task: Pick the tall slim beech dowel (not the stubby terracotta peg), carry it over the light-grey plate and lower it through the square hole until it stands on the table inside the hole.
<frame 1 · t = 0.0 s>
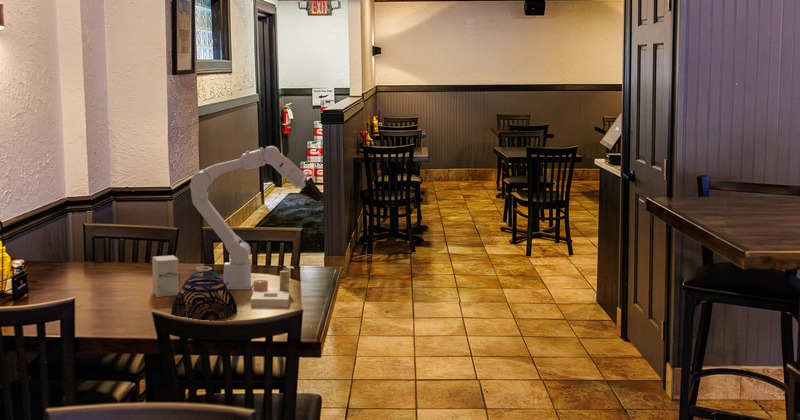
hand: (320, 198, 302), 32 cm above the table, tool tilted 50°, fingers open, 7 cm apart
hole plate: (270, 302, 287), on the table
terracotta peg: (260, 295, 295), on the table
beech pin: (284, 294, 297), on the table
supplement box: (165, 294, 294), on the table
decorative bowl: (204, 313, 274), on the table
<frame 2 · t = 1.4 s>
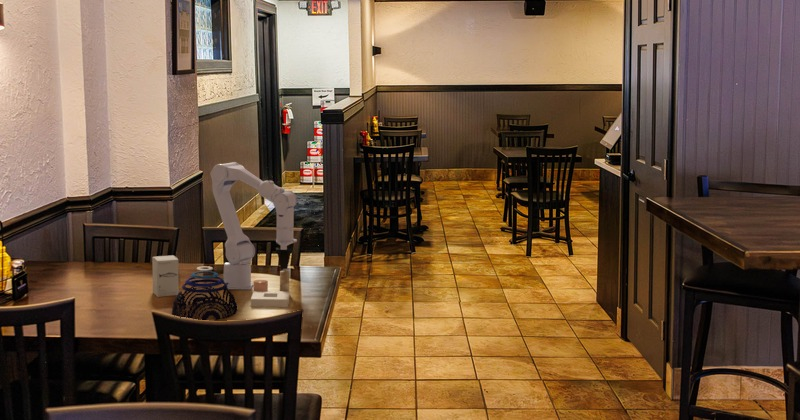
hand: (284, 266, 296), 10 cm above the table, tool pointing down, fingers open, 7 cm apart
nothing on the table moved.
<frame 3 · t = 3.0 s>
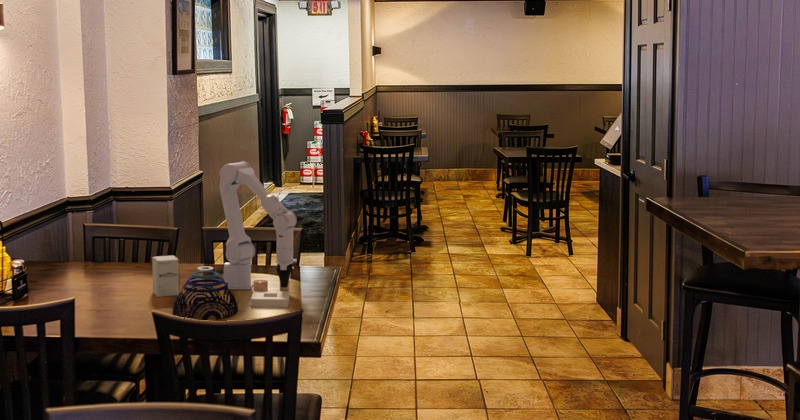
hand: (284, 285, 297), 3 cm above the table, tool pointing down, fingers closed on beech pin, 3 cm apart
beech pin: (284, 294, 297), on the table, touching gripper
everything else where it was.
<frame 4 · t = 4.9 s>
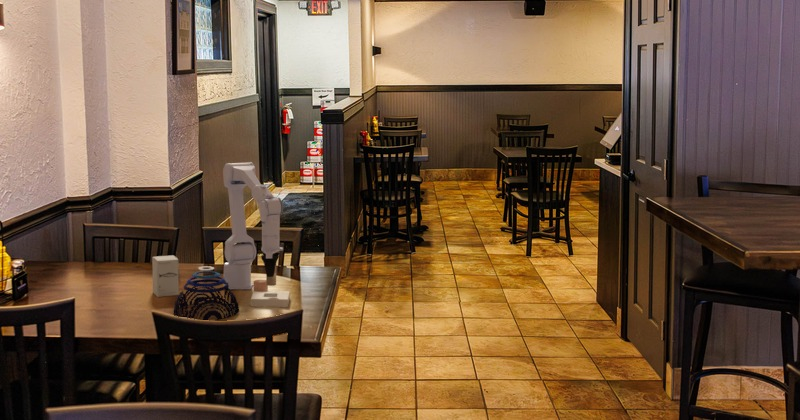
hand: (270, 275, 285), 9 cm above the table, tool pointing down, fingers closed on beech pin, 3 cm apart
beech pin: (271, 284, 286), point 6 cm above the table, touching gripper
everything else where it was.
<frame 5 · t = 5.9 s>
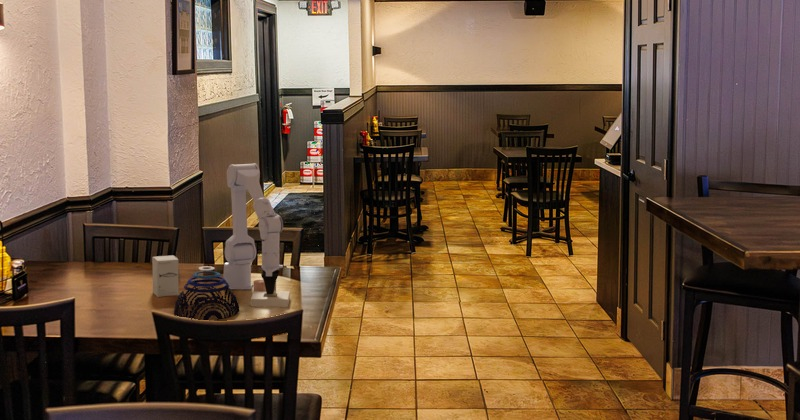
hand: (270, 292, 286), 3 cm above the table, tool pointing down, fingers closed on beech pin, 3 cm apart
beech pin: (271, 301, 287), resting in hole plate, touching gripper
everything else where it was.
when the fingers open (3 cm above the table, at t = 6.6 s): beech pin stays where it is, resting in hole plate.
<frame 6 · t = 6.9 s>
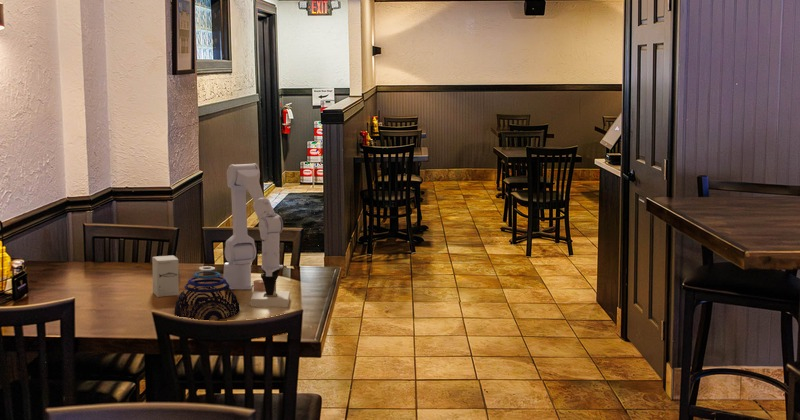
hand: (270, 292, 286), 3 cm above the table, tool pointing down, fingers open, 6 cm apart
beech pin: (271, 302, 287), resting in hole plate
everything else where it was.
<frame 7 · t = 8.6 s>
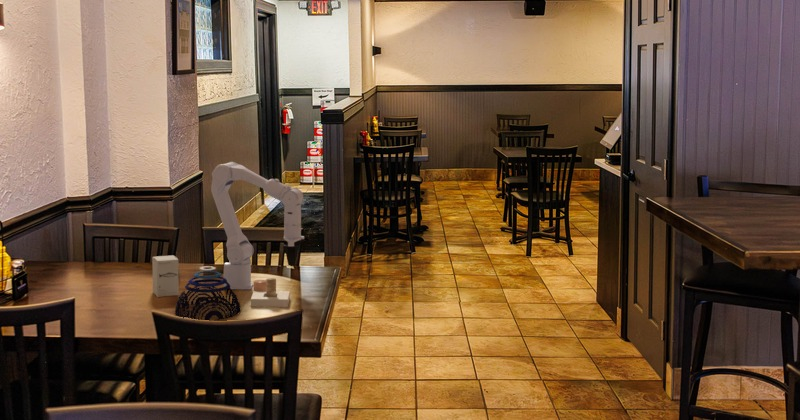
hand: (292, 262, 299), 10 cm above the table, tool pointing down, fingers open, 7 cm apart
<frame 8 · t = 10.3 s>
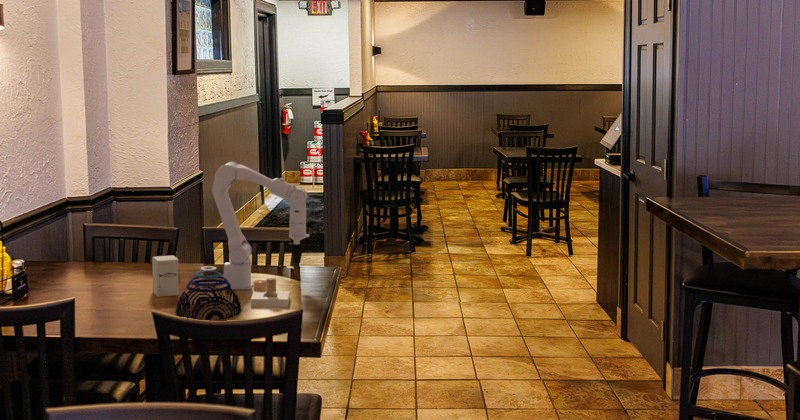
hand: (297, 260, 303), 10 cm above the table, tool pointing down, fingers open, 7 cm apart
at the end: beech pin 0.2 cm off-centre on the hole plate, point 0.0 cm above the hole plate's base; the gripper is holding nothing; terracotta peg moved 0.1 cm from its start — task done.
